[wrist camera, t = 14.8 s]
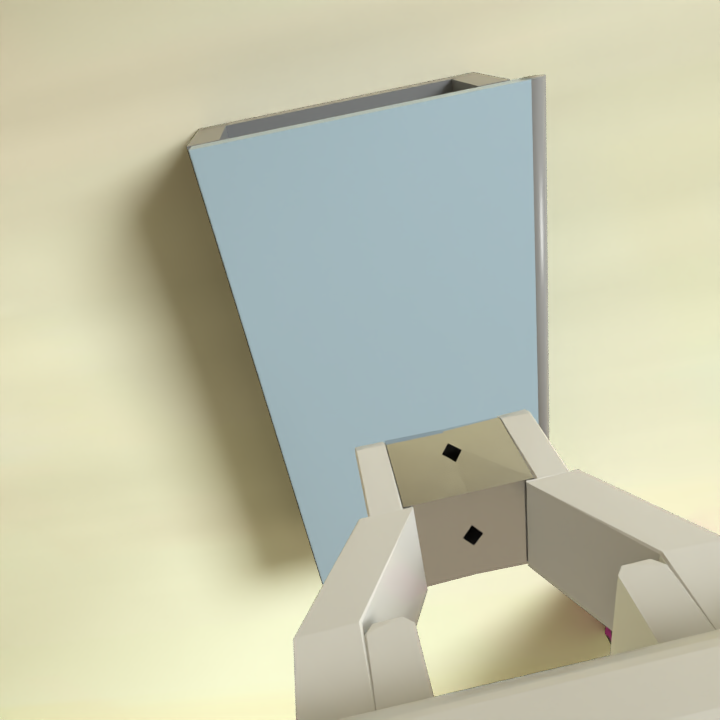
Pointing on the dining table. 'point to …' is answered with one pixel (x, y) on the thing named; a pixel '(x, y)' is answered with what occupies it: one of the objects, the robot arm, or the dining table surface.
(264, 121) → the cable duct
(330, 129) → the panel
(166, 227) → the dining table surface
